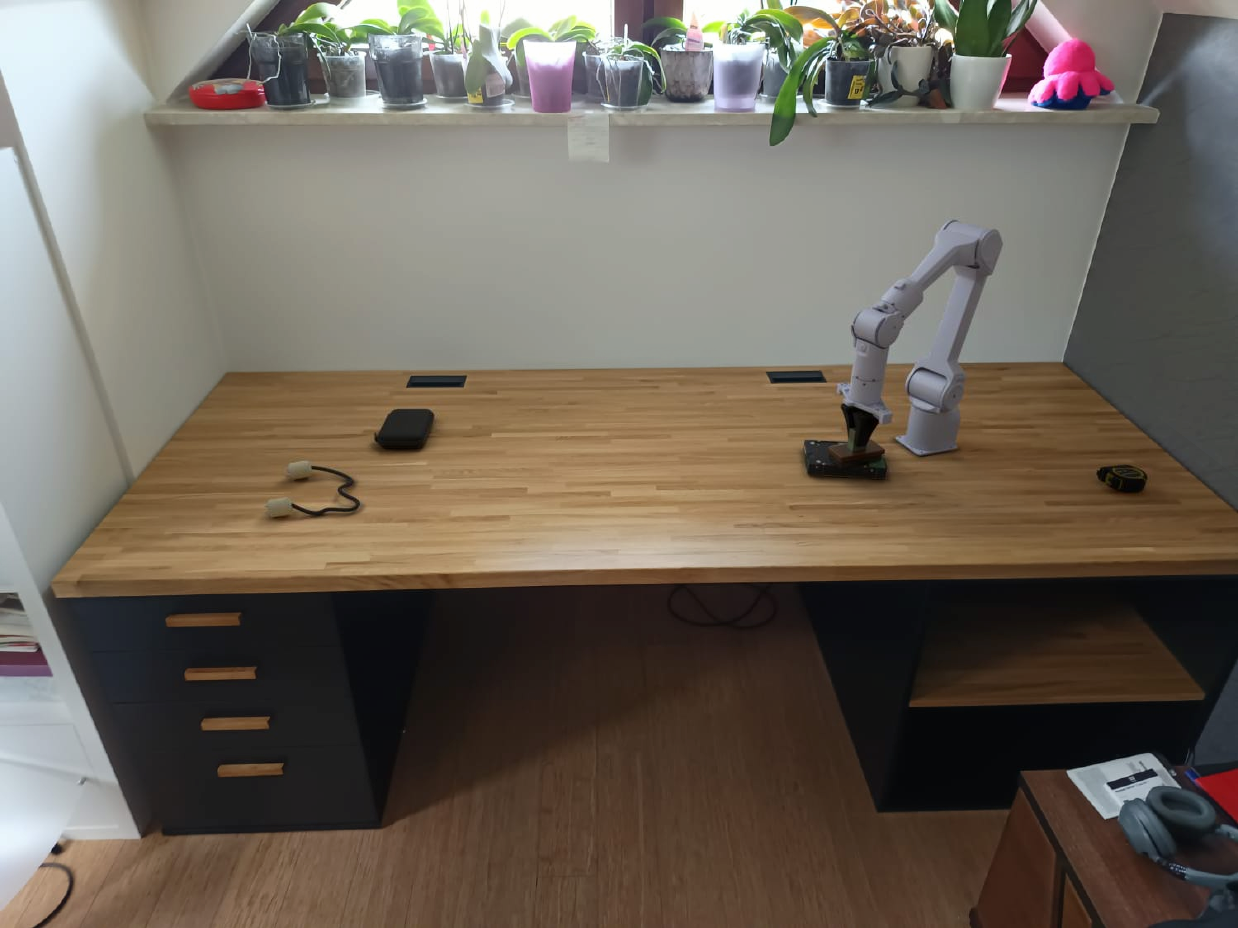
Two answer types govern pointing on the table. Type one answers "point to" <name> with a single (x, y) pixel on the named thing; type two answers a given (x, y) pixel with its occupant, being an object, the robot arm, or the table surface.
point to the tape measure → (1123, 478)
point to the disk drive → (823, 466)
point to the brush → (855, 452)
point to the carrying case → (405, 428)
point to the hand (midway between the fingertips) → (857, 442)
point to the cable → (301, 471)
